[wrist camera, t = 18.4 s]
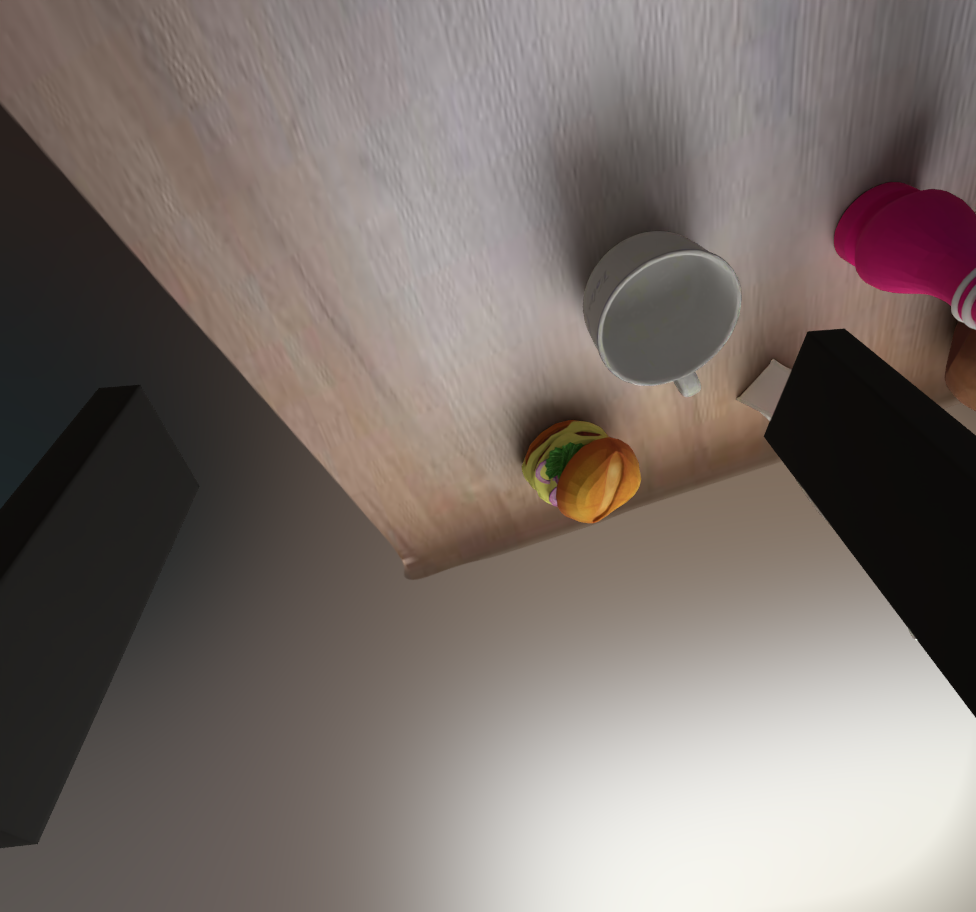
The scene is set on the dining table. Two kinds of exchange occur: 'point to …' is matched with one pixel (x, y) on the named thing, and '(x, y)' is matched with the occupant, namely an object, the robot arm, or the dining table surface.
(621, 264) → the teacup
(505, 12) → the dining table surface
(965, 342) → the butternut squash
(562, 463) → the cheeseburger
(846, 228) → the pepper mill
